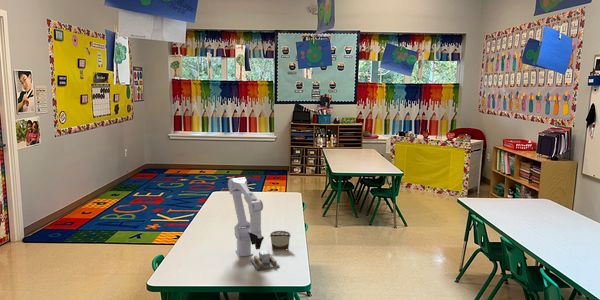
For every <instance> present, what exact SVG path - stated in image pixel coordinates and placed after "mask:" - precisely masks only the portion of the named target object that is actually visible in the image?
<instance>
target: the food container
mask: <svg viewBox="0 0 600 300" xmlns="http://www.w3.org/2000/svg"><path fill="white" fill-rule="evenodd" d="M291 236H292V235H291V233H290V231H287V230H274V231H272V232H270V234H269V237H270V241H271V242H270V243H271V250H272V251H287V250H286V249H288V250H289V246H290V238H292V237H291Z"/></svg>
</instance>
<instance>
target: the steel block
mask: <svg viewBox="0 0 600 300" xmlns="http://www.w3.org/2000/svg"><path fill="white" fill-rule="evenodd" d="M270 255H271V253H270V252H269V251H268V250H261V251H259V252H258V258H259V259H260V260H261V261H262V263H263V265H267V264H270Z"/></svg>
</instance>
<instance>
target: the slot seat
mask: <svg viewBox="0 0 600 300" xmlns="http://www.w3.org/2000/svg"><path fill="white" fill-rule="evenodd" d="M250 262H251V264H252V265H253V266H254V268H255V269H256V270H257V271H258V272H260V271H266V270H271V269H272V268H273V269H277V267H279V268H280V265H279V263H277V260H276V258H274V257H273V255H272V254H270V264H267V265H263V263H262V261H261V260H260V259H259V256H257V255H253V259H252V260H251V261H250Z"/></svg>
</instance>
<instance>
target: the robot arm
mask: <svg viewBox="0 0 600 300" xmlns="http://www.w3.org/2000/svg"><path fill="white" fill-rule="evenodd" d="M227 186H228V191H229V194H230V195H231V196H232V199H233V200H232V201H233V203H234V209H235V214H236V219H237V223H236V224H235V226H234V237H235V239H236V249H235V250H234V251H235V253H236V254H237V255H238V257H240V258H241V257H247V256H254V253H253V252H252V250H251V247H252V246H253V245H254V246H255V249H256V250H260V249H261V246H262V242H263V241H264V236H263V235H262V211H263V209H264V204H263V201H262V200H261V199H259V198H257V196H256V195H255V194H254V192H252V191H250V189H249V187H248V180H247V178H246V177H245V176H243V177H236V178H235V177H233V178H229V179H228V181H227ZM242 194H243V196H242ZM242 197H243V198H242ZM243 199H244V200H245V202H246V204H247V208H248V213H249V216H250V217H249V219H250V221H248V220H247V216H246V212H245V211H246V210H245V206H244V202H243Z"/></svg>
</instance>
